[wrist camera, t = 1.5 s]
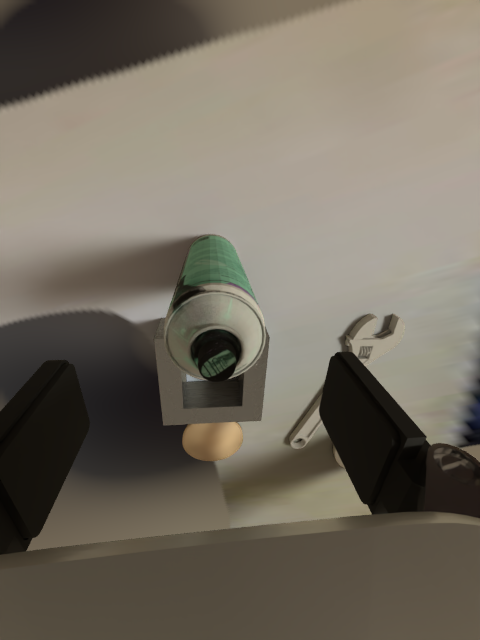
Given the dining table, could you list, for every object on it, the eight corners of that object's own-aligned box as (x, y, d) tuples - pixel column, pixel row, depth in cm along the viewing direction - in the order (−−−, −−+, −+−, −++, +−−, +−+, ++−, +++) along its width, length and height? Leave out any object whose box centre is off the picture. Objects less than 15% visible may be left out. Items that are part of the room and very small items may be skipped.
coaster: (243, 412, 40) (244, 416, 39) (240, 454, 44) (241, 459, 43) (181, 415, 39) (180, 419, 38) (184, 458, 43) (183, 462, 42)
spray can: (178, 268, 30) (131, 389, 12) (202, 223, 28) (189, 286, 10) (221, 292, 32) (237, 428, 14) (246, 251, 30) (302, 346, 12)
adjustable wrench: (298, 442, 45) (302, 452, 43) (266, 431, 43) (268, 440, 42) (404, 322, 36) (413, 328, 35) (369, 301, 35) (377, 307, 33)
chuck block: (261, 317, 34) (269, 337, 29) (255, 393, 39) (261, 420, 34) (161, 318, 32) (153, 339, 28) (168, 397, 37) (163, 425, 33)
